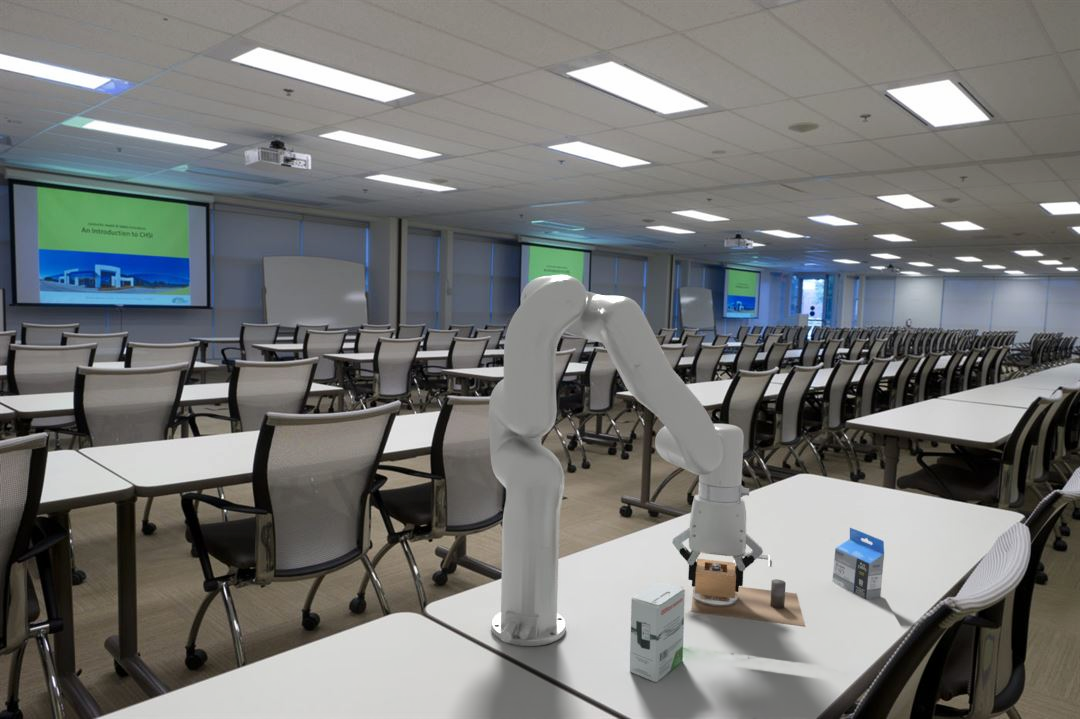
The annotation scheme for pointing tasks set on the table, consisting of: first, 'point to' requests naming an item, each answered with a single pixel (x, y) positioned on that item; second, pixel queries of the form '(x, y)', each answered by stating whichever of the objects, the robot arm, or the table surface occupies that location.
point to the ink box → (657, 630)
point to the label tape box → (859, 565)
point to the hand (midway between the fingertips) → (714, 585)
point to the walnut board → (760, 605)
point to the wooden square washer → (715, 579)
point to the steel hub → (715, 600)
